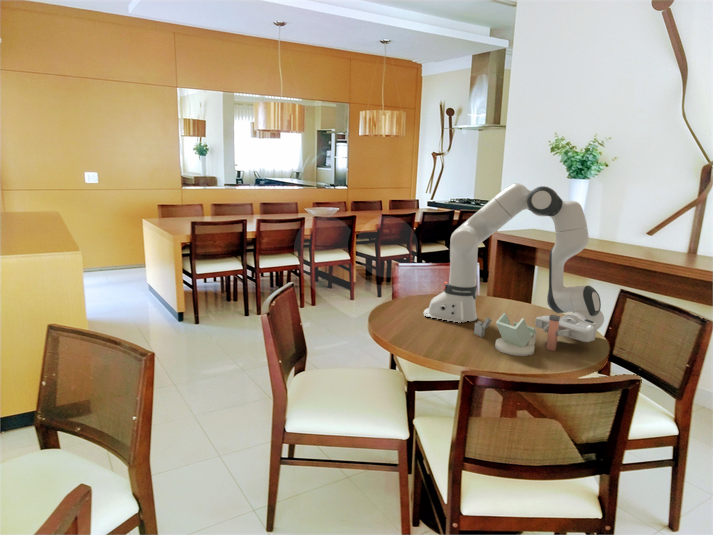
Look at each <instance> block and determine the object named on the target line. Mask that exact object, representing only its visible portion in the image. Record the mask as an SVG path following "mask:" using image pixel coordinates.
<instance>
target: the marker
mask: <svg viewBox="0 0 713 535" xmlns="http://www.w3.org/2000/svg"><path fill="white" fill-rule="evenodd" d="M549 316H550V317H549V328H548V333H547V338H546V347H545V348H546V350H548V351H553V352H554V351H557V345H558V344H557V343H558V336H557V335H556V331H557V330H558V328H559V320H560V319H561V316H559V315H556V314H551V315H549Z"/></svg>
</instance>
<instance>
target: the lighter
mask: <svg viewBox="0 0 713 535" xmlns="http://www.w3.org/2000/svg"><path fill="white" fill-rule="evenodd" d="M492 321H493V320H492V319H491V318H490V317H486V318H485V320H484V321H483V322H482V321H480V320H477V322H474V328H473V330H474V331H473V335H475V334H476V336H477V335H478V337H480V338H484V337H485V332H486V329H488V328H489V326H490V324H491V322H492ZM483 336H484V337H483Z"/></svg>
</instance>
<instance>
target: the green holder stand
mask: <svg viewBox="0 0 713 535" xmlns="http://www.w3.org/2000/svg"><path fill="white" fill-rule="evenodd" d="M495 324H496V327H497V330H498V331H499V334H500V336H501V337H499V338H497V339H495V343H494V344H495V347H494V348H495V349H496V350H497V351H499V352H500V353H503V354H506V355H509V356H516V357H527V356H528V355H529V356H532V355H534V354H535V349H536V348H535V344H536V339H537V329H536V328H535V327H534V326H530V325H527V323H526V320H525V318H523V317H522V318H521V319H520V321H518V322H517V321H513V325H511V322H510V320H509V318H508V315H507V313H506V312H503V313H502V315H500V317H499V318H498V319H497V320H496V322H495Z"/></svg>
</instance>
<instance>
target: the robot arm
mask: <svg viewBox="0 0 713 535" xmlns="http://www.w3.org/2000/svg"><path fill="white" fill-rule="evenodd" d="M524 210H529V211H530V212H531V213H533V214H534V215H535V216H538V217H549V218H550V219H551V220H552V221H553V223H554V224H553V225H554V230H555V242H554V245H553V246H552V248H551V249H550V251H549V257H548V258H549V259H548V261H549V263H548V264H549V265H548V292H547V296H546V297H547V299H546V300H547V301H546V303H547V305H548V307H549V308H550V309H551V310H552V311H553V312H555V313H556V314H564V313H567V314H565V315H563V316H561V317H560V320H559V328H558V330H557V331H556V335H557V337H567V338H570V339H574V340H577V341H580V342H584V343H590V342H594V341H595V339H596V337H597V333H598V332H597V331H598V330H599V329H600V328H601V327H603V325H604V322H605V316H604V313H603V312H602V310H601V307H602V305H601V303H602V302H601V298H600V297H601V296H600V294H599V292H598V291H597V290H596V289H595V288H594V287H592V286H591V285H578V286H565V285H564V272H565V271H564V268H565V263H566V262H567V261H569V259H571V258H573V257H575V256H576V255H578V254H580V253H581V252H582V251H583V250H584V249H585V248H586V247H587V245H588V244H589V231H588V222H587V220H586V215H585V213H584V210H583V207H582V205H581V204H580V203H579V202H578V201H575V200H565V201H563V199H562V198H561V197H560V196H559V195H558V193H557V192H556V190H554V189H552V188H551V187H548V186H543V185H542V186H537V187H534V188H533V189H532V190H530V189H528V188H527V187H526V186H525V185H523V184H521V183H519V182H518V183H513V184H511V185H509V186H507V187H506V188H505V189H503V190H501V191H500V192H499V193H497V194H496V195H495V196H493V198H491V199H490V200H489V201H488V202H486V203H485V204H484V205H483V206H482V207H481V208H480V209H479V210H478V211H476V212H475V213H474V214H472V215H471V216H470V217H468V218H467V219H466V221H464V222H463V223H462V224H461V225H460V226H458V227H457V228H456V229H455V230H454V231H453V232H452V233H451V236H450V240H449V241H450V244H449V260H450V261H449V263H450V264H449V276H448V277H449V278H448V281H445V282H444V283H443V291H442V292H441V293H439V294H437V295H436V296H434V297H433V298H432V299H431V300H430V302H429V306H428V307H427V308H425V309H424V310H423V313H422V315H423V314H424V315H423V317H425V316H426V317H431V318H430V319H432V318H437V319H436V320H438V319H442V320H441V321H443V320H447V321H446V322H449V321H453V322H452V323H455V322H458V323H457V324H461V322H462V323H465V322H467V321H469V322H474V321H476V320H478V315H477V310H476V299H477V291H478V286H477V277H478V276H477V275H478V259H479V258H478V256H479V255H478V252H479V245H480V244H481V243H483V242H484V241H485V240H487V239H488V238H490V236H492V235H494V234H495V233H496V232H497V231H499V230H500V229H502V228H503V226H505V225H506V224H507V223H508V222H510V221H511V220H512V219H513V218H514V217H516V215H518V214H519V213H521V212H523V211H524ZM426 317H425V318H426ZM549 317H550V315H542V316H537V317H535V321H534V322H535V324H534V325H535V327H536V328H537V329H538V328H539V329H541V330H543V332H545V333H547V334H548V328H549ZM467 323H468V322H467Z"/></svg>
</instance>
